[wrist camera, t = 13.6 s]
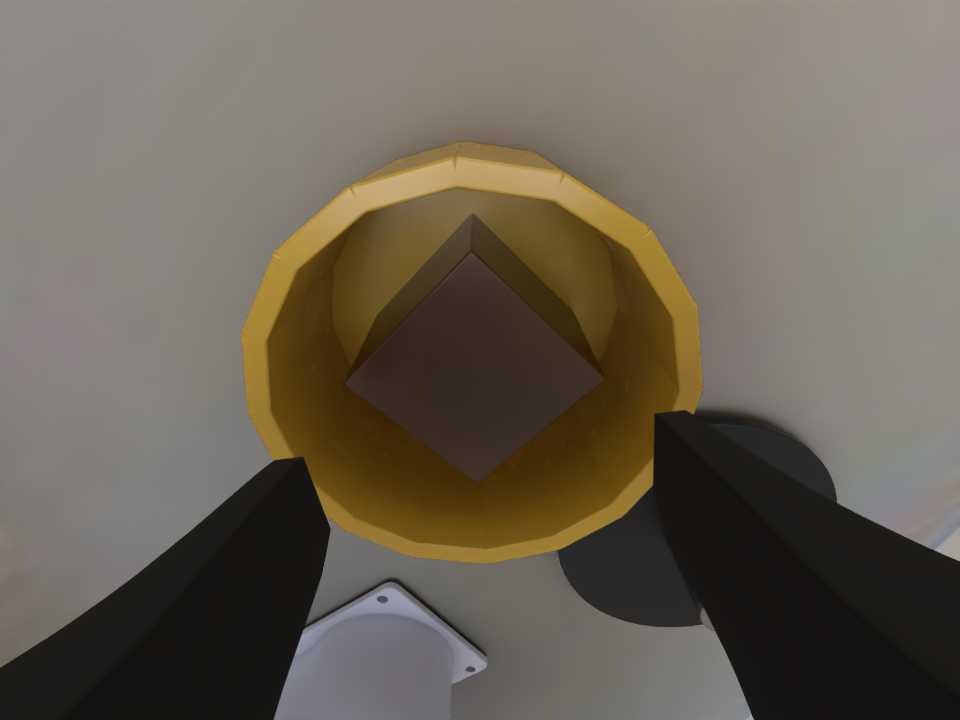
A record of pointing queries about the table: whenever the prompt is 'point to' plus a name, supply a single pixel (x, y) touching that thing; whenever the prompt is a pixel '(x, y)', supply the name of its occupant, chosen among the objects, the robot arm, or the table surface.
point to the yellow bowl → (382, 274)
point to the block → (474, 354)
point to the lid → (648, 550)
